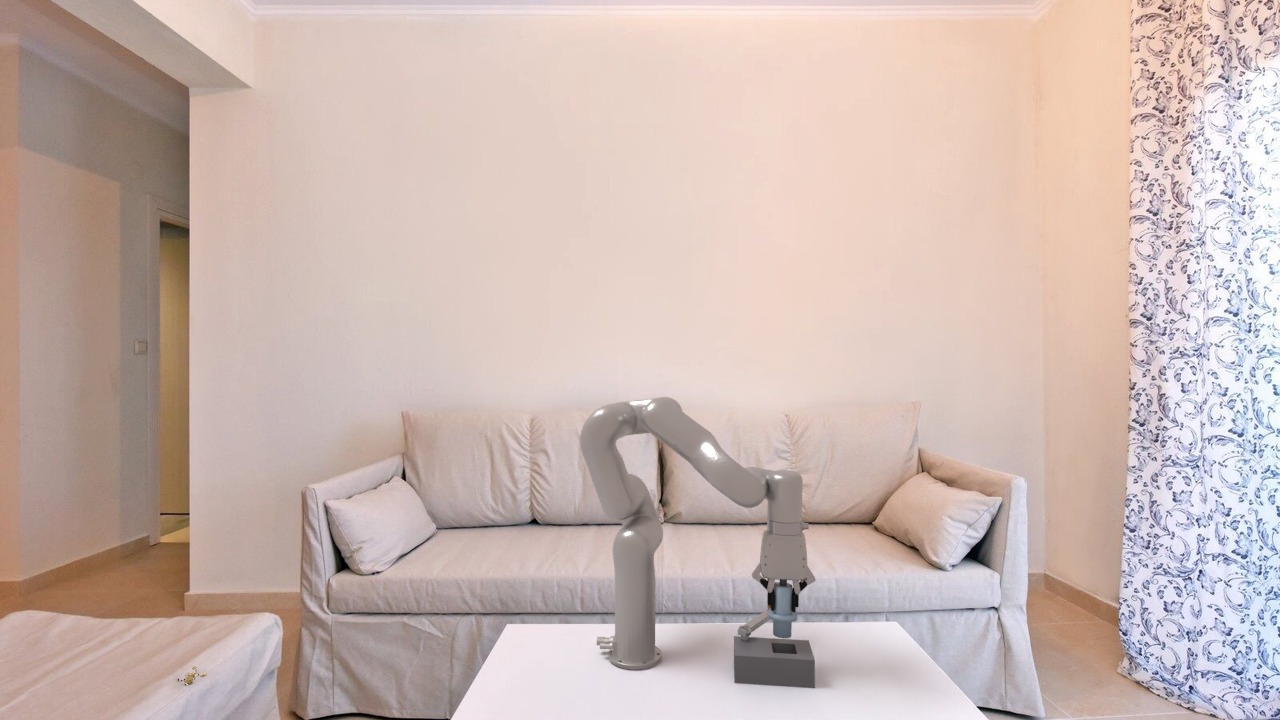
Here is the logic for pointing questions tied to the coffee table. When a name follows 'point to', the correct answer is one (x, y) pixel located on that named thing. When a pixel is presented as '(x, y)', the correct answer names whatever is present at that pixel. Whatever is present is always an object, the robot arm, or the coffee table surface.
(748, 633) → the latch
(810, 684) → the socket block
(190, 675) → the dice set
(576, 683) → the coffee table surface
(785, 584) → the plug
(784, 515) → the robot arm
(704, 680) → the coffee table surface
